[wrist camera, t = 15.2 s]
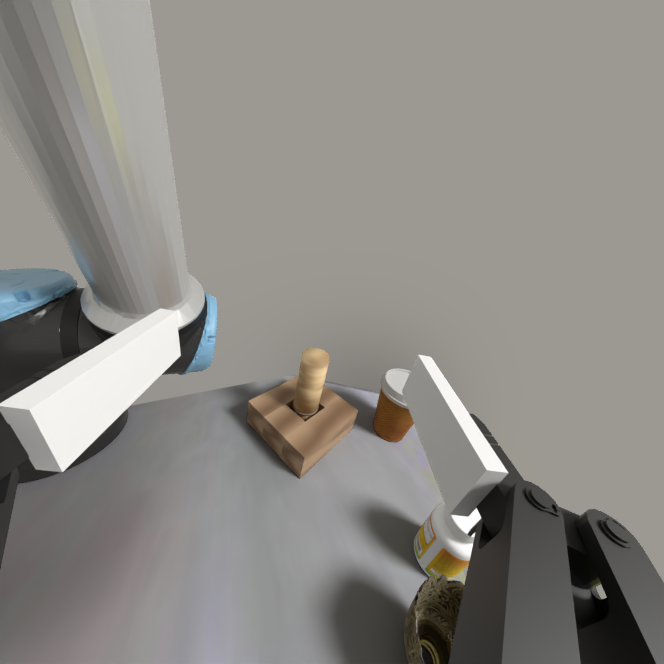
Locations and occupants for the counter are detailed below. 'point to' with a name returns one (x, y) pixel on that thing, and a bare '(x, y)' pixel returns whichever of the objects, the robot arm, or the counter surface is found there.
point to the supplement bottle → (445, 542)
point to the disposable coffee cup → (392, 407)
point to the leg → (310, 382)
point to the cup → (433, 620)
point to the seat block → (300, 425)
